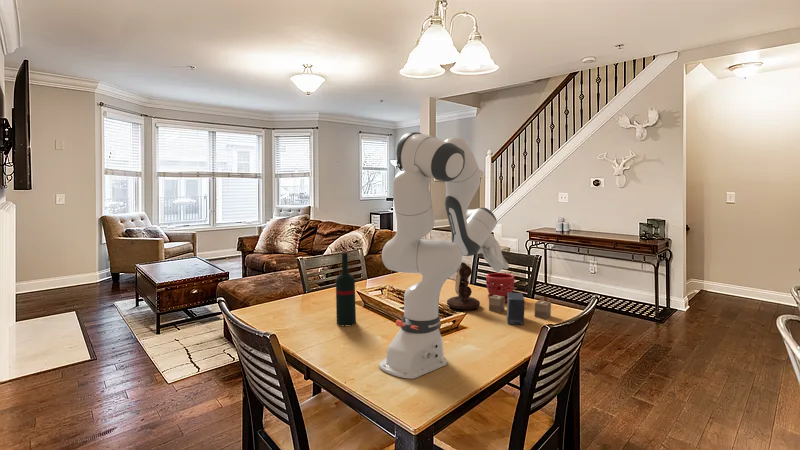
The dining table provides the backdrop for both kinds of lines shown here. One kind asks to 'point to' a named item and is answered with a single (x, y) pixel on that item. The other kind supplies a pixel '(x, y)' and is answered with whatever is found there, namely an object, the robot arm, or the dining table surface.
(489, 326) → the dining table surface
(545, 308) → the walnut block one
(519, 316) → the small box
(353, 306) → the wine bottle
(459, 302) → the dark brown knobbly figurine
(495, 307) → the walnut block seven
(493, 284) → the plant pot
